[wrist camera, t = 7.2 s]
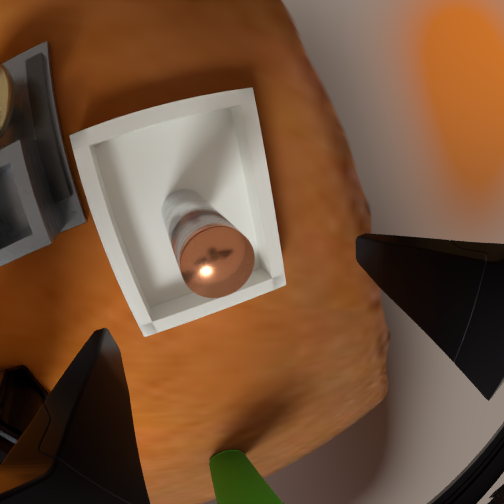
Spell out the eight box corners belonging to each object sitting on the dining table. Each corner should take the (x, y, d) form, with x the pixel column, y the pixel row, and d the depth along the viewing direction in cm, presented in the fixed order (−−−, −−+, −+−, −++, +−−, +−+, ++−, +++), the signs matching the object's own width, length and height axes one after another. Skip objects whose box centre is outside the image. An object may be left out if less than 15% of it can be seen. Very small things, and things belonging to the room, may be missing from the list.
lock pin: (210, 225, 20) (260, 283, 12) (168, 238, 19) (193, 307, 12) (200, 183, 18) (247, 217, 11) (156, 196, 18) (171, 242, 10)
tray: (271, 271, 24) (286, 284, 22) (142, 317, 21) (144, 337, 19) (238, 93, 18) (252, 87, 15) (78, 136, 15) (69, 135, 13)
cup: (266, 450, 35) (299, 506, 26) (219, 475, 35) (244, 531, 25) (235, 434, 31) (270, 504, 22) (181, 463, 30) (206, 530, 21)
